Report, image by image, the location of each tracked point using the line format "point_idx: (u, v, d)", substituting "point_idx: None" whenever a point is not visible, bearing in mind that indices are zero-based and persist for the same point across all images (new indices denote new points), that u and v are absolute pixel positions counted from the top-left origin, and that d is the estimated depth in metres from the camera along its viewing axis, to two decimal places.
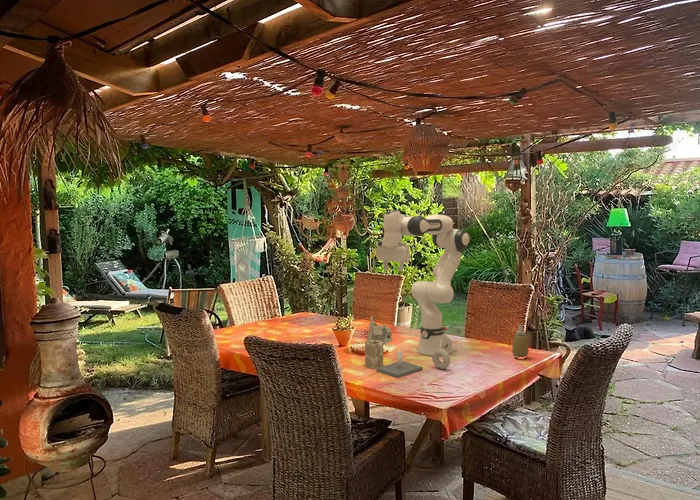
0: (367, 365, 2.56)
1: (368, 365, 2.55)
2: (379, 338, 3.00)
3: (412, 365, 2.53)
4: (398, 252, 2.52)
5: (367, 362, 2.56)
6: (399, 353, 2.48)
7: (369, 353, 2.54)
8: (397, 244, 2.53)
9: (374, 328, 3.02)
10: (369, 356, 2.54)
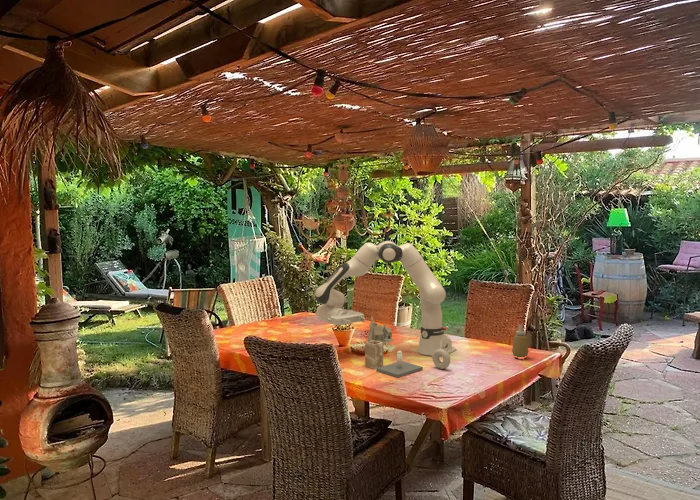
0: (367, 365, 2.56)
1: (368, 365, 2.55)
2: (380, 338, 3.00)
3: (412, 365, 2.53)
4: None
5: (367, 362, 2.56)
6: (399, 353, 2.48)
7: (369, 353, 2.54)
8: None
9: (374, 328, 3.01)
10: (369, 356, 2.54)
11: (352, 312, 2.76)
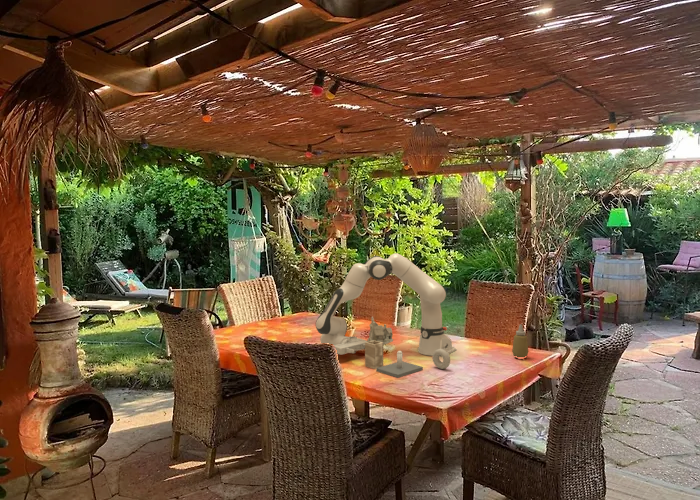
0: (367, 365, 2.56)
1: (368, 365, 2.55)
2: (380, 338, 3.00)
3: (412, 365, 2.53)
4: None
5: (367, 362, 2.56)
6: (399, 353, 2.48)
7: (369, 353, 2.54)
8: None
9: (375, 328, 3.01)
10: (369, 356, 2.54)
11: (356, 339, 2.75)
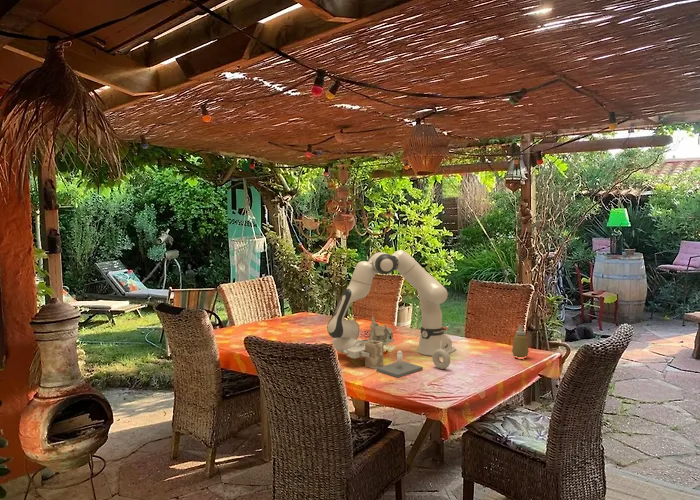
0: (367, 365, 2.56)
1: (368, 365, 2.55)
2: (381, 339, 2.99)
3: (412, 365, 2.53)
4: None
5: (367, 362, 2.56)
6: (399, 353, 2.48)
7: None
8: None
9: (376, 329, 3.00)
10: None
11: None
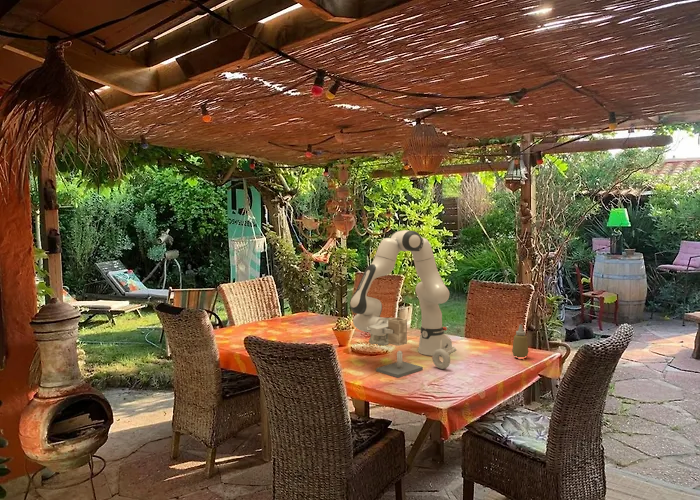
0: (390, 342, 2.48)
1: (391, 342, 2.48)
2: (382, 339, 2.98)
3: (412, 365, 2.53)
4: None
5: (390, 339, 2.48)
6: (399, 353, 2.48)
7: None
8: None
9: None
10: None
11: None
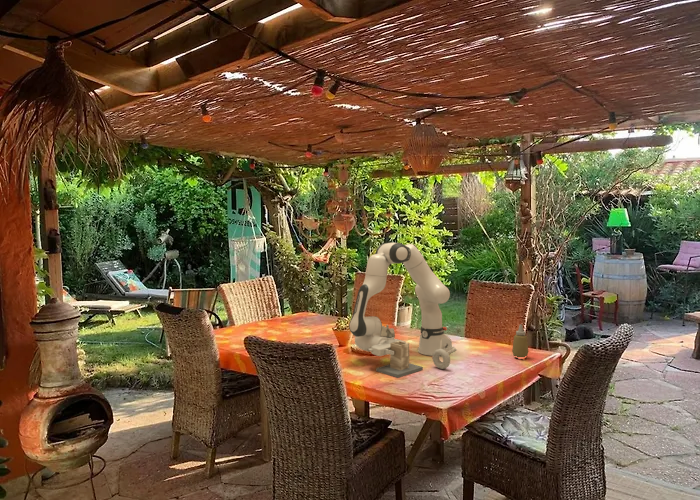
0: (392, 366, 2.48)
1: (394, 366, 2.48)
2: None
3: (412, 365, 2.53)
4: None
5: (392, 363, 2.48)
6: None
7: (394, 354, 2.47)
8: None
9: None
10: (395, 357, 2.47)
11: (393, 340, 2.60)
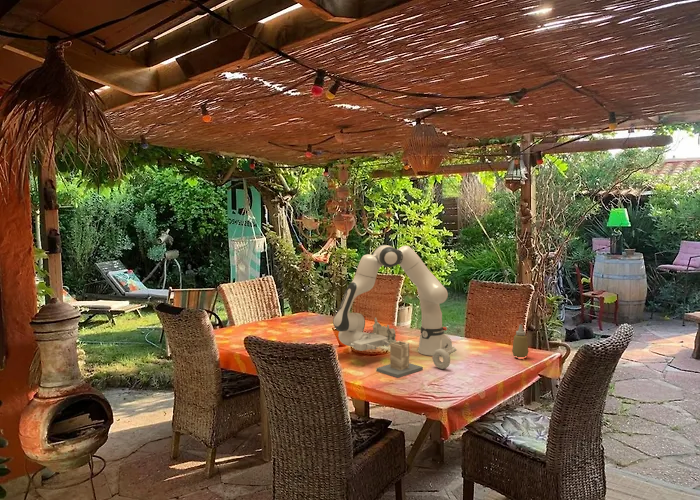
0: (392, 366, 2.48)
1: (394, 366, 2.48)
2: None
3: (412, 365, 2.53)
4: None
5: (392, 363, 2.48)
6: None
7: (394, 354, 2.47)
8: None
9: (379, 329, 2.98)
10: (395, 357, 2.47)
11: (375, 336, 2.70)
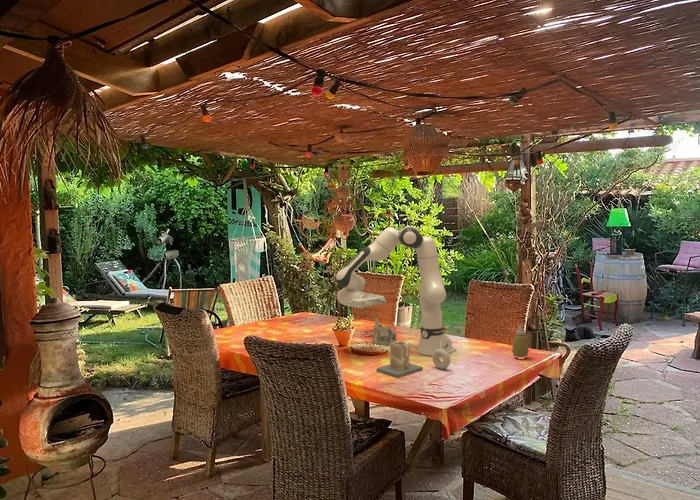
0: (392, 366, 2.48)
1: (394, 366, 2.48)
2: (385, 339, 2.97)
3: (412, 365, 2.53)
4: None
5: (392, 363, 2.48)
6: None
7: (394, 354, 2.47)
8: None
9: (380, 329, 2.98)
10: (395, 357, 2.47)
11: (373, 295, 2.77)
